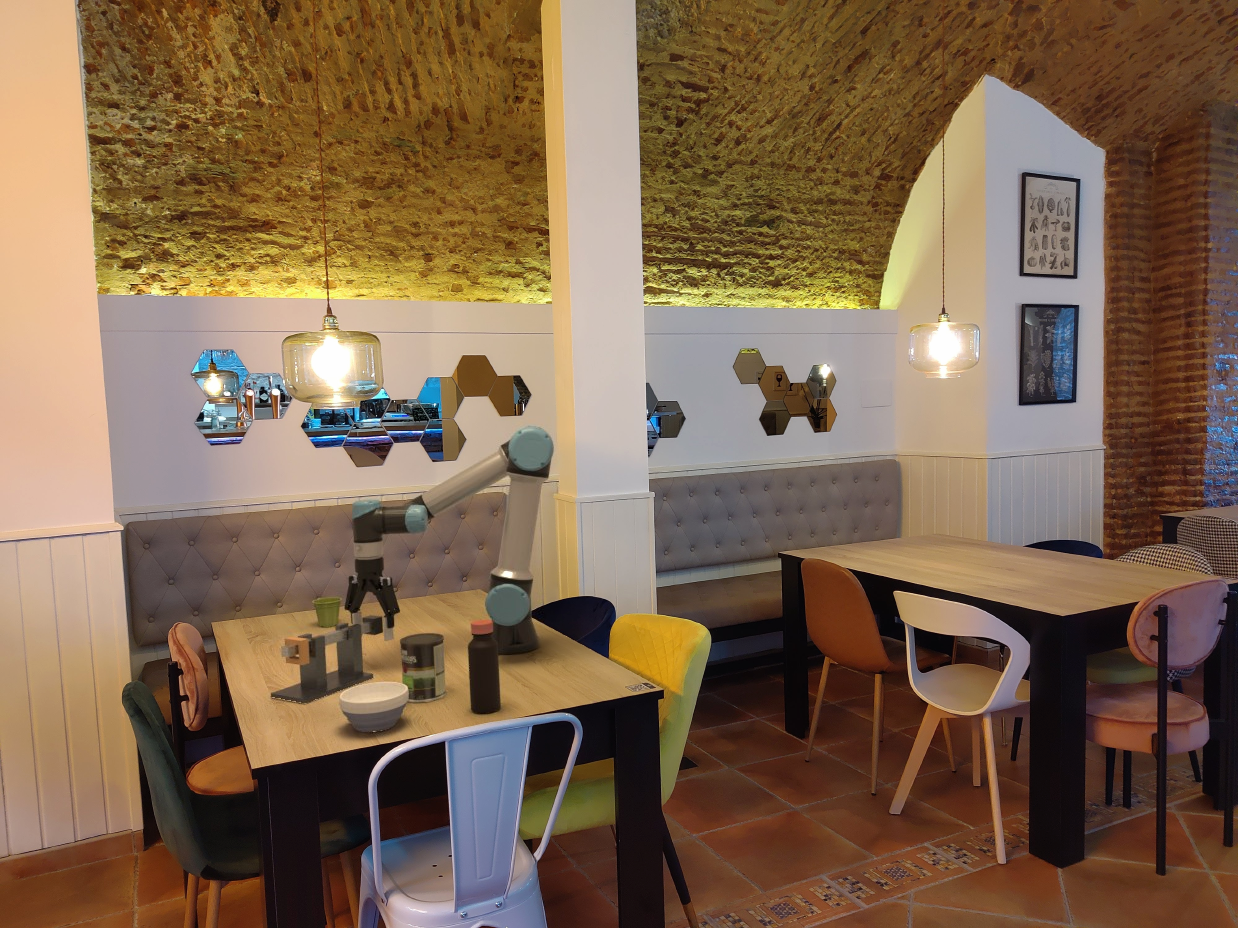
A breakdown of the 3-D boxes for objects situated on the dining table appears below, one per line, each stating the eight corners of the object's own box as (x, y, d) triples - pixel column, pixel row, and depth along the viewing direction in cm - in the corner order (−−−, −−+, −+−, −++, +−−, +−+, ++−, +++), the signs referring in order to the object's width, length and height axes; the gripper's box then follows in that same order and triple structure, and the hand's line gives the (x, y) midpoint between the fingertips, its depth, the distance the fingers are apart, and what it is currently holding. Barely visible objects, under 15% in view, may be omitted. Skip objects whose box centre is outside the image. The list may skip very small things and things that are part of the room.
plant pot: (312, 624, 283) (311, 599, 283) (341, 620, 287) (340, 595, 286) (314, 630, 274) (313, 604, 274) (344, 626, 278) (343, 600, 278)
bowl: (423, 723, 182) (421, 688, 182) (364, 743, 171) (362, 707, 171) (386, 709, 192) (384, 677, 192) (328, 728, 181) (326, 694, 181)
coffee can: (417, 706, 194) (414, 646, 193) (394, 696, 201) (391, 639, 201) (455, 694, 201) (452, 636, 200) (431, 686, 208) (429, 630, 208)
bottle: (479, 716, 185) (474, 627, 184) (465, 708, 190) (461, 622, 190) (506, 709, 189) (502, 622, 188) (492, 702, 194) (488, 617, 194)
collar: (309, 662, 203) (308, 638, 203) (302, 665, 202) (301, 640, 201) (292, 660, 206) (291, 636, 206) (285, 662, 204) (284, 638, 204)
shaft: (383, 632, 226) (382, 616, 226) (291, 661, 200) (290, 643, 199) (371, 631, 228) (370, 615, 228) (279, 660, 202) (278, 642, 202)
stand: (373, 678, 218) (370, 624, 217) (305, 704, 198) (301, 646, 198) (340, 673, 223) (337, 621, 223) (271, 697, 204) (267, 641, 203)
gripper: (327, 557, 227) (332, 637, 228) (391, 561, 216) (395, 645, 217) (348, 553, 234) (352, 631, 235) (411, 556, 222) (415, 638, 223)
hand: (373, 637), depth 226 cm, fingers open, 11 cm apart
